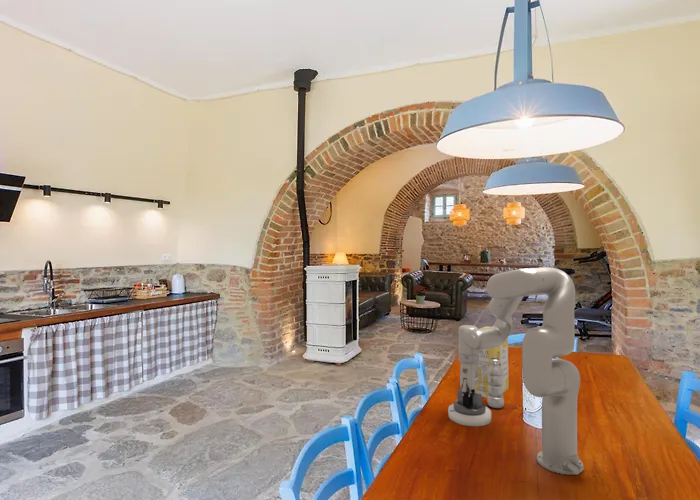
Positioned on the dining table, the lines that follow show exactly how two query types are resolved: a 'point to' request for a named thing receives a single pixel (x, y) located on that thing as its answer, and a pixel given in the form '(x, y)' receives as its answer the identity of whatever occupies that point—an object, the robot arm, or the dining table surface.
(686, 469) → the dining table surface
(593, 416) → the dining table surface
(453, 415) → the dial housing
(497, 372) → the plastic bottle
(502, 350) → the pasta box
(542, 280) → the robot arm
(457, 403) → the dial knob
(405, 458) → the dining table surface
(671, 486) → the dining table surface
